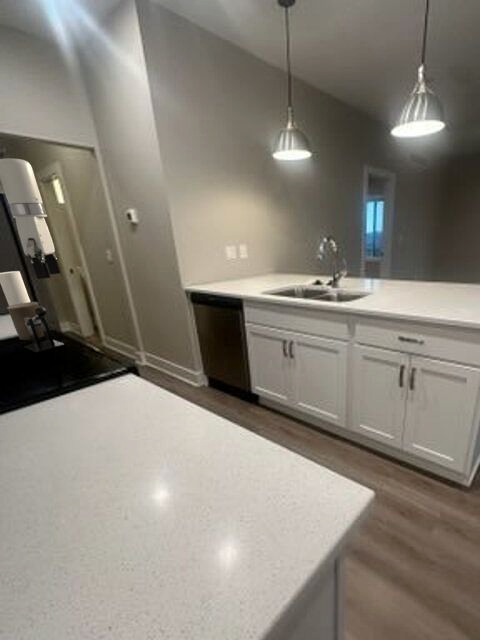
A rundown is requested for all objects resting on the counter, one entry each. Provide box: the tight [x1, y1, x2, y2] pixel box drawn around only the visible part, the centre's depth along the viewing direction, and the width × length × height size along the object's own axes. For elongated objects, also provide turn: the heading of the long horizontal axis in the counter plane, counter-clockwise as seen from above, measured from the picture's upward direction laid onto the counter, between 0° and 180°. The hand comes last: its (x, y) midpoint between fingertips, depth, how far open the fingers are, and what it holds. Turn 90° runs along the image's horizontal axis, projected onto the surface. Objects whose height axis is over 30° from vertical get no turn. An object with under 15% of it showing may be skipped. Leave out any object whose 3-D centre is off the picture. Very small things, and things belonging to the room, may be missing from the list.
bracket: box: [24, 315, 65, 353], centre depth 122 cm, size 12×9×12 cm
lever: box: [31, 306, 48, 327], centre depth 117 cm, size 13×3×3 cm, turn 52°
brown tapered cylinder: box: [6, 301, 45, 341], centre depth 134 cm, size 10×10×15 cm
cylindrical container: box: [0, 270, 31, 307], centre depth 140 cm, size 7×7×25 cm
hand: (49, 275), depth 99 cm, fingers open, 9 cm apart
